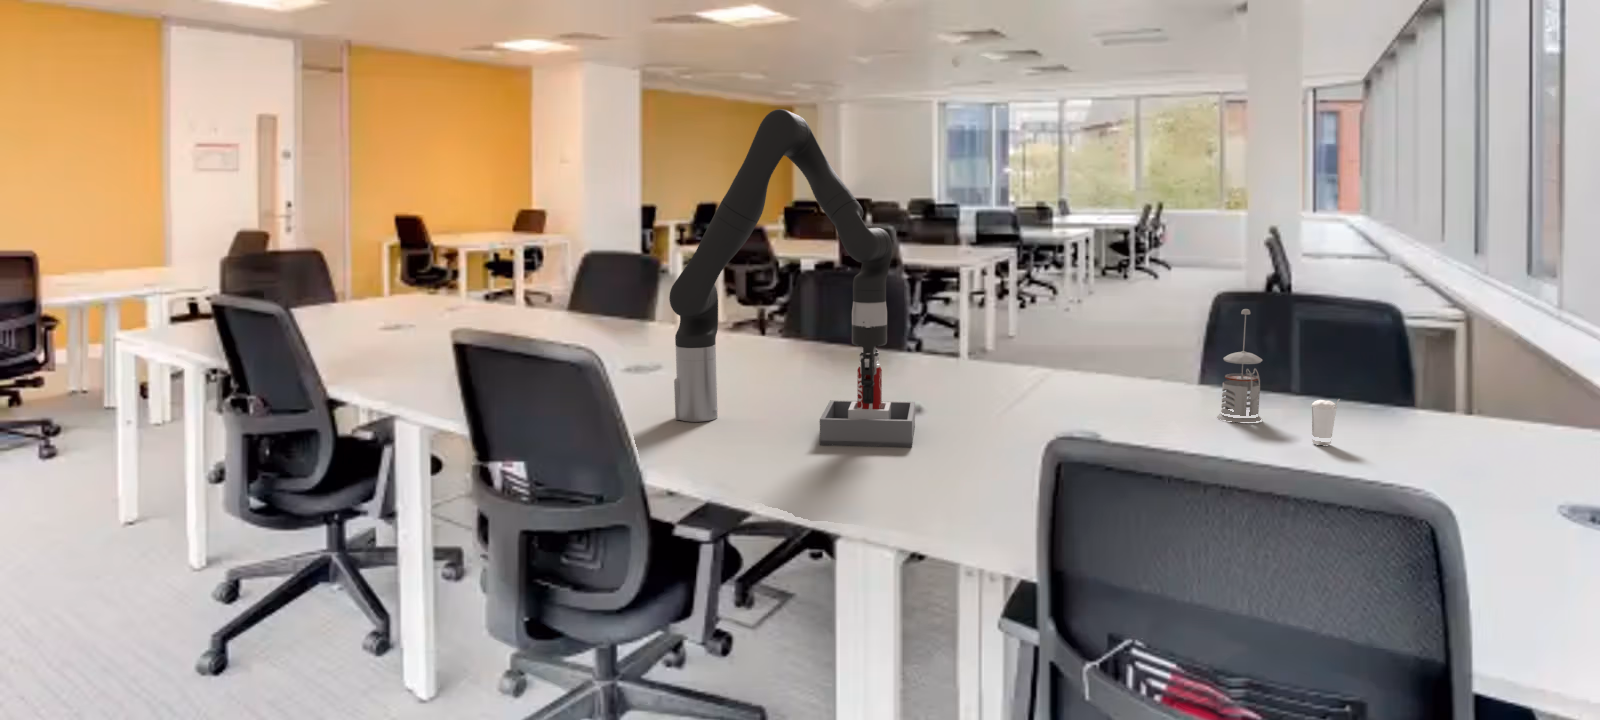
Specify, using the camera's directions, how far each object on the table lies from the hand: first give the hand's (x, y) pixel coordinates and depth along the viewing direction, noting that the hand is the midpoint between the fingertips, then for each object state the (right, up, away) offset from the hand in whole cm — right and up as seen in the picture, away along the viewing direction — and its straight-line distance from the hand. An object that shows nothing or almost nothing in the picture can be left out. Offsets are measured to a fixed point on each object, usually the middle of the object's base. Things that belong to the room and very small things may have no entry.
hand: (869, 400), depth 222 cm
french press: (+84, -5, +9) cm, 85 cm away
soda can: (0, -4, +1) cm, 4 cm away
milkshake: (+91, -9, -14) cm, 92 cm away
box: (0, -8, -1) cm, 8 cm away
